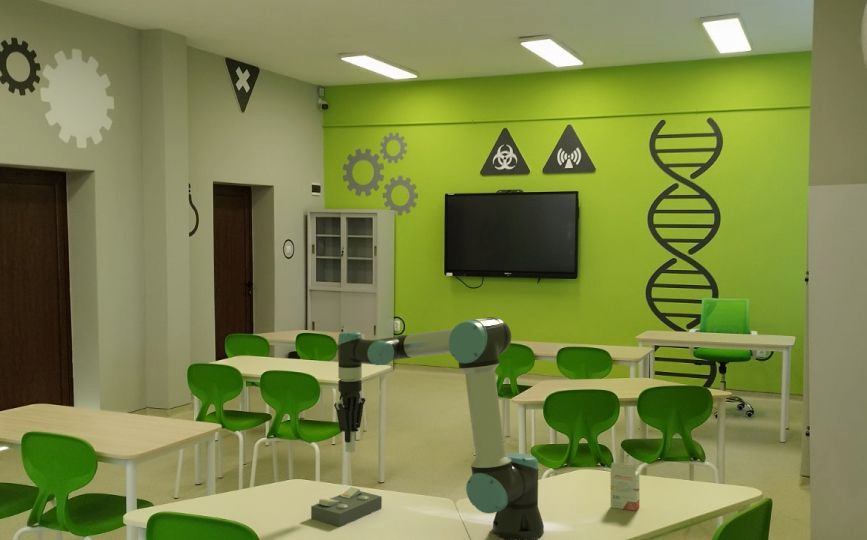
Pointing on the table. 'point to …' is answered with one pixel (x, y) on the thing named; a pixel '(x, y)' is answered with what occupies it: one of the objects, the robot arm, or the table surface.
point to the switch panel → (346, 509)
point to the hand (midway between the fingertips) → (350, 451)
